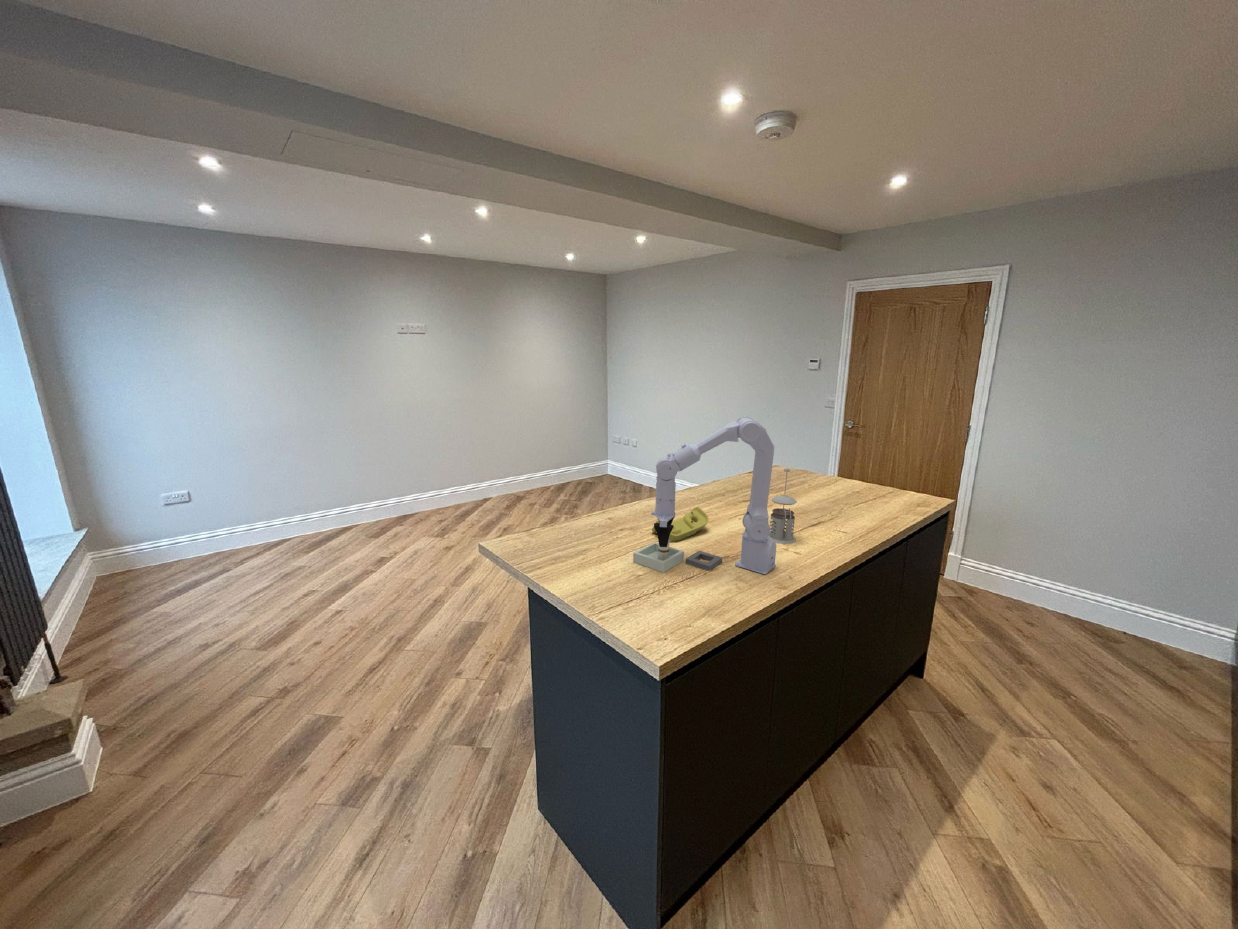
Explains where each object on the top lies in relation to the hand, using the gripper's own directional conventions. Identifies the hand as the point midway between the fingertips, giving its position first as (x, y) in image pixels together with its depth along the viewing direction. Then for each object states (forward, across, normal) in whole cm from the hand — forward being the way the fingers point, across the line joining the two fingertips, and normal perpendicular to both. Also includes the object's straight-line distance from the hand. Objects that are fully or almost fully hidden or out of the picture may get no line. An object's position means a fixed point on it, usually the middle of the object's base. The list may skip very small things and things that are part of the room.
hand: (664, 541), depth 138 cm
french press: (+7, -25, +39) cm, 46 cm away
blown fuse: (+6, 0, 0) cm, 6 cm away
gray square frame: (+6, -1, +12) cm, 14 cm away
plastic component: (+7, -25, +5) cm, 26 cm away
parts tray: (+6, 0, -2) cm, 6 cm away
